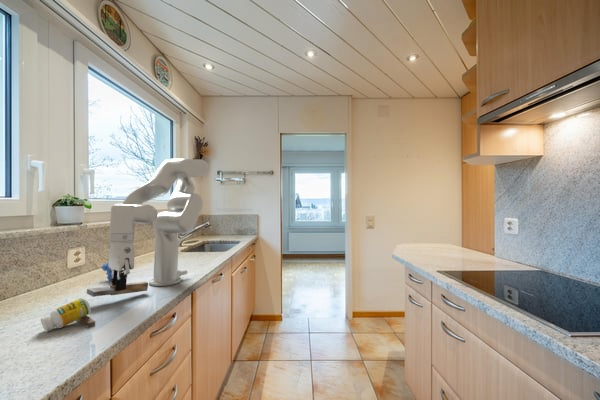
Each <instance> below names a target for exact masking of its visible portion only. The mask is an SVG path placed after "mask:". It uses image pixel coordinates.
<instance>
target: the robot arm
mask: <svg viewBox="0 0 600 400" xmlns="http://www.w3.org/2000/svg"><path fill="white" fill-rule="evenodd" d="M209 170H210V169H209V164H208V162H207V161H205V160H204V159H194V158H193V159H191V158H170V159H165V160H164V161H162V163H161V164H160V166H159V167H158V168H157V170H156V171H155V172H154V174H153V175H152V177H151V178H150V179H149V181H147V182H146V183H144V184H142V185H141V186H139V187H138V188H136V189H135V190H133V191H132V192H131V193H129V194H128V195H127V197H126V198H125V199H124V200H123V202H122V203H117V204H112V205H111V207H110V216H109V217H110V219H109V234H108V243H109V251H108V259H109V260H108V259H107V260H108V261H107V263H108V266H109V268H111V270H112V281H111V285H116V286H115V291H121V290H125V289H126V284H127V279H128V275H129V274H130V272H131V271H130V270H134V269H135V245H134V243H135V227H136V224H138V225H139V224H144V225H145V224H151V223H152V227H153V231H154V232H153V233H154V257H153V259H154V261H153V278H152V279H150V280H149V281H148V285H150V286H153V287H154V286H155V287H166V286H172V285H176V284H179V283H180V282H182V276H186V275H188V270H179V269H178V267H179V266H178V265H179V246H180V245H179V243H180V242H179V239H178V236H177V234H181V235H182V234H183V235H185V234H189V233H191V232H192V230H193V229H194V227H195V226H196V224H197V221H198V219H199V217H200V214H201V212H202V210H203V207H204V206H203V205H204V203H203V202H204V201H203V198H202V196H201V195H200V194H198V193H195V189H196V188H195V185H194V183H193V180H192V179H191V178H202V177H206V176H207V175H208V173H209ZM176 181H177V182H176ZM175 182H176V186H175V188H174V190H173V191H172V193H171V195H170V196H169V198H168V200H167V203H166V207H167V209H168V210H169V211H161V212H159V213H158V210H157V208H156V207H155V206H153V205H150V204H146V203H147V202H149V201H151V200H153V199H157V198H160V197H161V196H164V195H167V194H168V193H169V191H170V190H171V189H172V186H173V185H174V184H175Z"/></svg>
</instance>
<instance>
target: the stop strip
mask: <svg viewBox="0 0 600 400" xmlns="http://www.w3.org/2000/svg"><path fill="white" fill-rule="evenodd" d="M77 321H79V323H81V324H82V325H84V326H86V327H87V328H92V327H95V326H96V320H94V319H93V318H91V317H90V316H88V315H86V316H84V317H82V318H80V319H78V320H77Z"/></svg>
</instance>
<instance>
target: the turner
mask: <svg viewBox="0 0 600 400" xmlns="http://www.w3.org/2000/svg"><path fill="white" fill-rule="evenodd" d="M115 286H116V285H112V284H110V285H109V286H101V287H93V288H92V287H91V288H87V290H86V294H87V295H89V296H90V297H101V296H117V295H118V296H119V295H124V294H133V293H141V292H147V291H148V287H149V281H148V282H147V281H140V282H129V283H126V289H125V290H121V291H115Z"/></svg>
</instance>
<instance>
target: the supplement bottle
mask: <svg viewBox="0 0 600 400" xmlns="http://www.w3.org/2000/svg"><path fill="white" fill-rule="evenodd" d="M88 301H89V300H87V299H86V297H81V298H78V299H75V300H73V301H71V302H69V303H66V304H65V305H62V306H60V307H57V308H55V309H53V310H52V311H51V312H50V315H45V316H43V317H41V318H40V323H41V326H42V328H43V330H44V331H45V333H48V332H50V331H52V330H53V329H54V328H56V329H60V328H61V329H62V328H64V327H66V326H67V325H70V324H72V323H74V322H76V321H78V319H80V318H82V317H84V316H86V315H87V316H88V315H90V314H91V311H92V309H91V305H90V303H89V302H88Z"/></svg>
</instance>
